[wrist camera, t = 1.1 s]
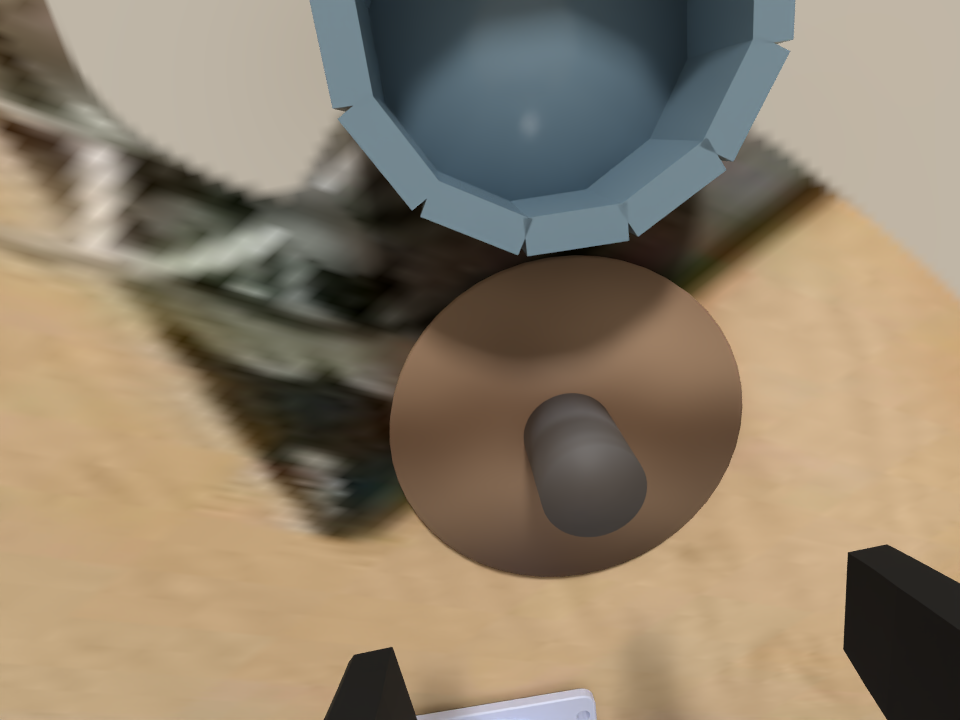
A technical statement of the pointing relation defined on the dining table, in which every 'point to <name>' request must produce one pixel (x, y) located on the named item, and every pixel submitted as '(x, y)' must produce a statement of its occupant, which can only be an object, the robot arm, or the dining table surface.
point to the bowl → (550, 106)
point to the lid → (565, 416)
